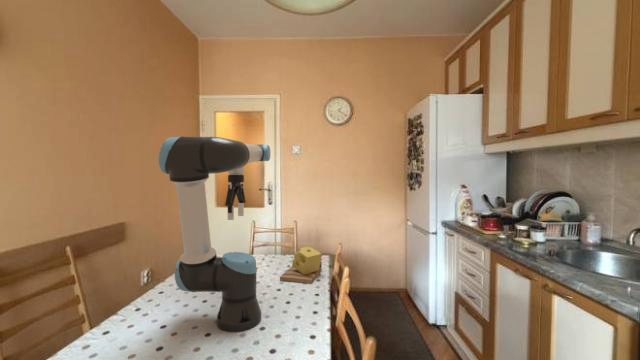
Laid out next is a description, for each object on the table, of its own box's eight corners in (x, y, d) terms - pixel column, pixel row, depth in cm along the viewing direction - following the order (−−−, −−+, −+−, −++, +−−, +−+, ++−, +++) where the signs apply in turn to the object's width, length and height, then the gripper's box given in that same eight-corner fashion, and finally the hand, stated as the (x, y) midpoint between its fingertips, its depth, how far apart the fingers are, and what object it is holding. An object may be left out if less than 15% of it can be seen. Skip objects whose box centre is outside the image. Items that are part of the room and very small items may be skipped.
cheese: (291, 266, 150) (294, 248, 148) (307, 262, 157) (310, 245, 155) (304, 276, 143) (307, 257, 141) (320, 271, 150) (323, 253, 148)
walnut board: (311, 283, 137) (311, 273, 137) (279, 280, 141) (279, 270, 141) (321, 270, 157) (321, 261, 157) (293, 268, 161) (293, 259, 161)
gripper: (237, 174, 154) (237, 214, 154) (217, 174, 129) (217, 221, 129) (251, 174, 153) (251, 214, 153) (234, 174, 128) (234, 221, 128)
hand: (236, 217), depth 141 cm, fingers open, 13 cm apart
